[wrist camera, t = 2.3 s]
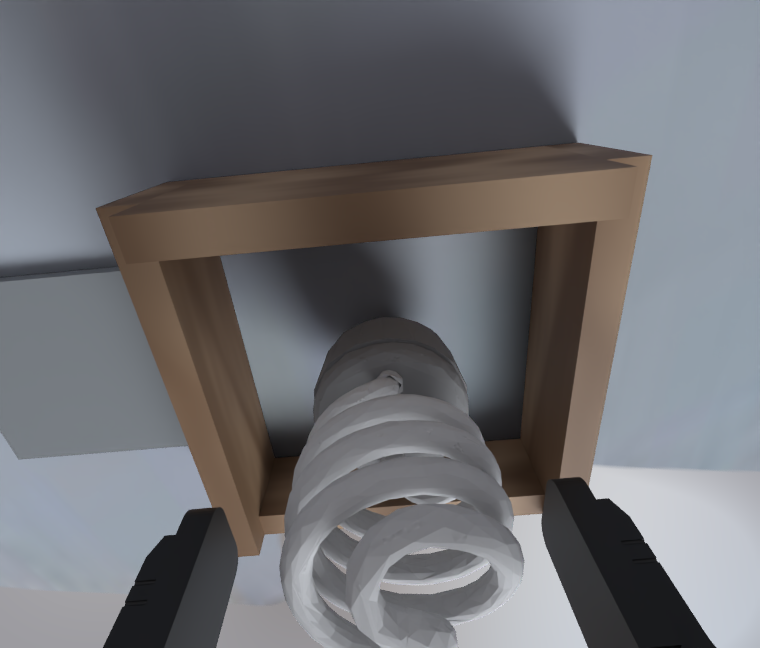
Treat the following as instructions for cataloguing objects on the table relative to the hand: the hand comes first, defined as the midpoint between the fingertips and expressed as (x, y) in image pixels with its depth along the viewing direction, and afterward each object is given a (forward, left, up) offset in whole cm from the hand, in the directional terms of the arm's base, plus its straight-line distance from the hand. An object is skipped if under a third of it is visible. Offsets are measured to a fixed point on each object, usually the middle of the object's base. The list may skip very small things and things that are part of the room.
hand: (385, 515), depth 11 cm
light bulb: (0, 0, -9) cm, 9 cm away
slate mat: (+14, 0, -9) cm, 16 cm away
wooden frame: (0, 0, -9) cm, 9 cm away
